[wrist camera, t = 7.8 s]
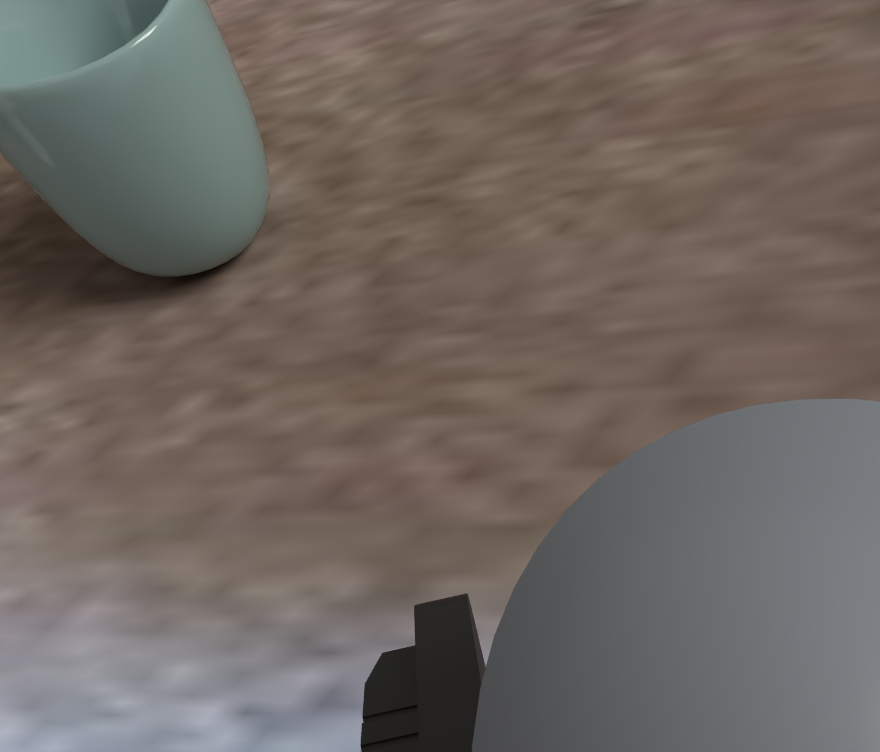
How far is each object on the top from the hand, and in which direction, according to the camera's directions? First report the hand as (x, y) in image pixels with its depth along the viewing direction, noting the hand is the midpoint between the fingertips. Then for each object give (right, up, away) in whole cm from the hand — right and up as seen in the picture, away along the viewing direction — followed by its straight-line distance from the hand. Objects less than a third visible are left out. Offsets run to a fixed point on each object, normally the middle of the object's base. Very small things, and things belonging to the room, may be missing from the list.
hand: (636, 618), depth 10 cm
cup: (-12, +9, +20) cm, 25 cm away
